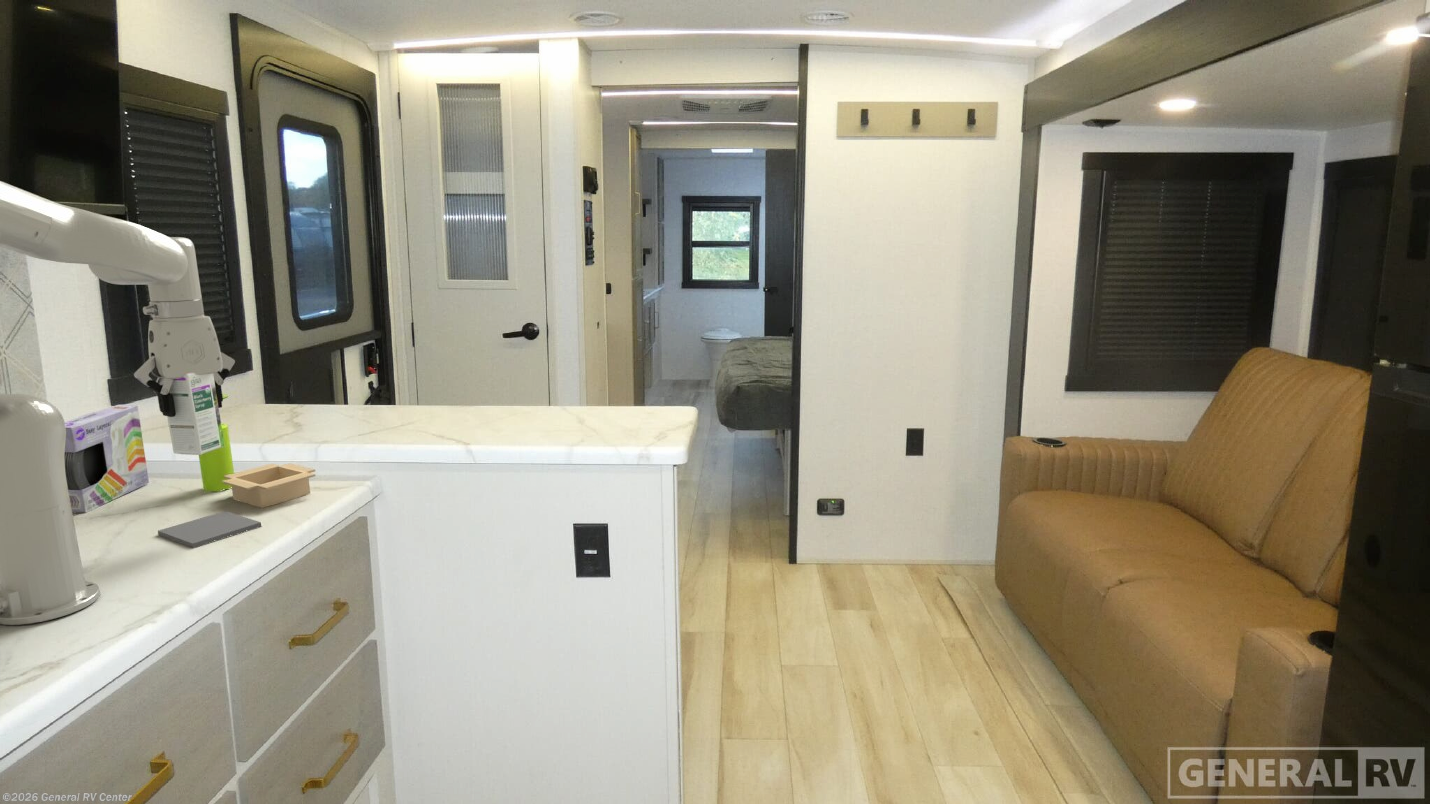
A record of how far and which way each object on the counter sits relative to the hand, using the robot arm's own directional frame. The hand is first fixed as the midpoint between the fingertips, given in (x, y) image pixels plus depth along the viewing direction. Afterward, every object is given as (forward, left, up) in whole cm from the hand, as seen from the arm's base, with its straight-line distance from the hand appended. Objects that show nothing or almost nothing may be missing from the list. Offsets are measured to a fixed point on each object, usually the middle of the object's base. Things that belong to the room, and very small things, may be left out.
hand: (193, 410), depth 150 cm
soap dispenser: (+15, +24, -23) cm, 36 cm away
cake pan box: (-1, +37, -23) cm, 43 cm away
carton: (+17, +9, -22) cm, 29 cm away
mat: (0, 0, -22) cm, 22 cm away
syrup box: (0, 0, -7) cm, 7 cm away
